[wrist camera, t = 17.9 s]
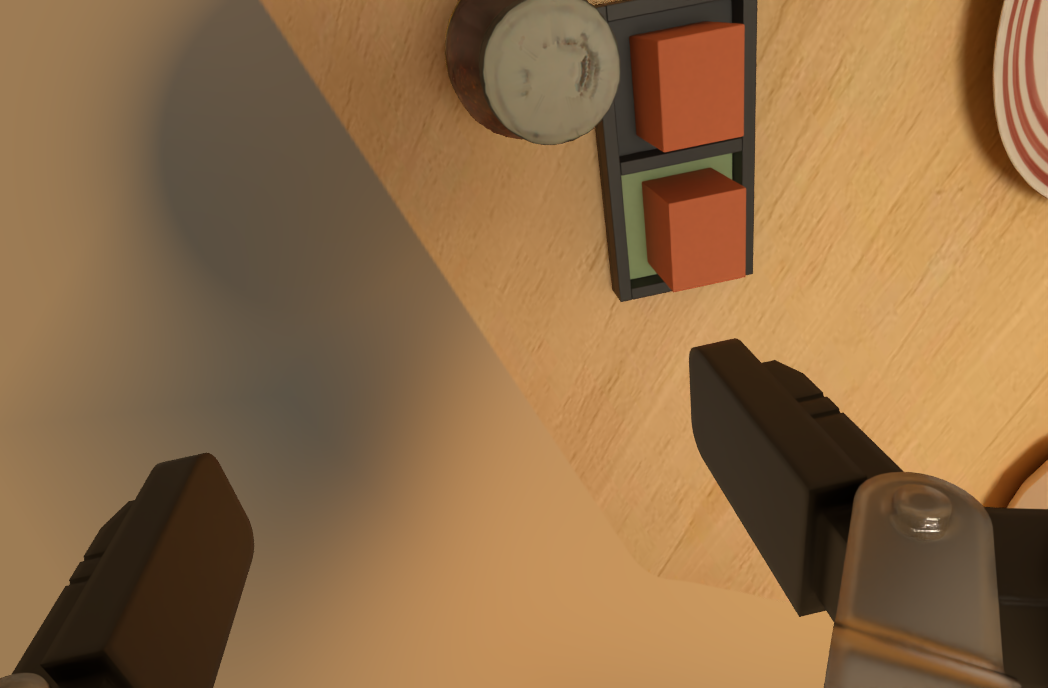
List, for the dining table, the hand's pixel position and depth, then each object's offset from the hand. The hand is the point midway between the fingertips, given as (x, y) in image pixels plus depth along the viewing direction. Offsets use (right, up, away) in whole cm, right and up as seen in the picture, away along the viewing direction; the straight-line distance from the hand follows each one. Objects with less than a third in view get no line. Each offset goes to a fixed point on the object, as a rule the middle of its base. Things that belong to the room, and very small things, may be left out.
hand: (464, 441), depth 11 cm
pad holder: (+10, +14, +29) cm, 33 cm away
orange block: (+11, +10, +30) cm, 33 cm away
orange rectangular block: (+10, +17, +26) cm, 33 cm away
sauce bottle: (0, +19, +25) cm, 31 cm away
